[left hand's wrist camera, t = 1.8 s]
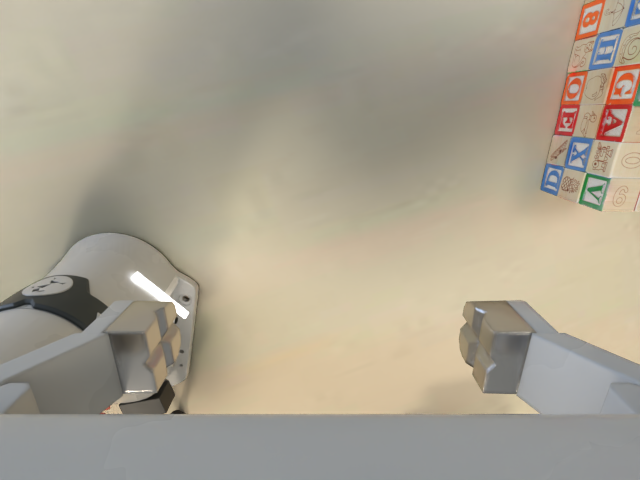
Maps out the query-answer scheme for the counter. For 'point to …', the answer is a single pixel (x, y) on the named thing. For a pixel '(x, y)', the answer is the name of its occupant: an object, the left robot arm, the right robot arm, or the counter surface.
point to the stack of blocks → (600, 112)
